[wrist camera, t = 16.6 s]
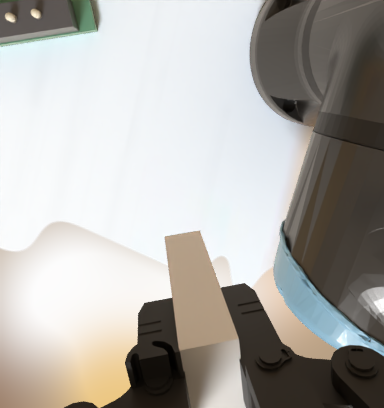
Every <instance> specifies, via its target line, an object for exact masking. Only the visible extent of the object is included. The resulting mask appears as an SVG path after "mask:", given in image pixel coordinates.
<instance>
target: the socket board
mask: <svg viewBox="0 0 384 408" xmlns="http://www.w3.org/2000/svg"><path fill="white" fill-rule="evenodd" d="M91 32H97V27H96V23H95V18H94V14H93V10H92V5H91V1H90V0H0V47H2V46H8V45H15V44H21V43H27V42H34V41H40V40H46V39H53V38H59V37H65V36H72V35H78V34H84V33H91Z"/></svg>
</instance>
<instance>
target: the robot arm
mask: <svg viewBox="0 0 384 408" xmlns="http://www.w3.org/2000/svg"><path fill="white" fill-rule="evenodd" d="M250 66H251V72H252V76H253V80H254V83H255V85H256V88H257V90H258V92H259V94H260V95H261V97H262V98H263V100H264V101H265V103H266V104H267V105H268V106H269V107H270V108H271V109H272V110H273V111H274V112H276V113H277V114H278V115H280V116H281V117H283V118H285V119H287V120H290V121H292V122H296V123H299V124H303V125H307V126H315V127H314V130H313V131H312V135H311V138H310V142H309V145H308V149H307V152H306V155H305V159H304V162H303V165H302V168H301V172H300V175H299V178H298V181H297V184H296V188H295V191H294V194H293V197H292V201H291V204H290V207H289V210H288V213H287V217H286V220H285V221H283V222H282V224H281V227H280V233H279V234H280V242H279V246H278V250H277V253H276V257H275V261H274V268H273V270H274V280H275V283H276V286H277V288H278V290H279V292H280V294H281V295H282V296H283V298H284V301H285V303H286V305H287V306H288V308H289V309H290V310H291V311H292V312H293V313H294V315H295V316H296V317H297V318H298V319H299V320H300V321H301V322H302V323H303V324H304V325H305V326H306V327H307V328H308V329H310V330H311V331H312V332H313V333H314V334H316V335H317V336H318V337H320V338H321V339H322V340H324V341H325V342H327V343H328V344H330V345H331V346H333V347H334V348H336V349H337V350H336V351H335V352H334V354H333V356H332V358H331V360H325V359H312V358H305V357H302V356H299V355H296V354H295V353H294V352H293V351H292V350H291V348H290V347H288V346H286V345H284V344H283V343H282V342H281V340H280V339H279V337H278V335H277V333H276V331H275V329H274V327H273V325H272V323H271V321H270V319H269V317H268V315H267V314H266V312H265V311H264V308H263V306H262V304H261V302H260V300H259V298H258V297H257V294H256V292H255V291H254V290H253V289H252V288H250V287H249V286H248V285H246V284H245V283H243V284H238V285H233V286H227V287H222V288H220V285H219V283H218V280H217V277H216V274H215V272H214V269H213V266H212V263H211V261H210V258H209V255H208V252H207V250H206V247H205V244H204V241H203V239H202V236H201V233H200V231H194V232H188V233H183V234H177V235H171V236H165V243H166V251H167V259H168V267H169V275H170V283H171V290H172V298H169V299H163V300H158V301H153V302H148V303H144V305H143V307H142V308H141V310H140V312H139V313H138V344H137V345H136V346H134V347H133V348H132V349H131V351H130V352H129V353H128V355H127V358H126V361H125V365H126V368H127V373H128V377H129V380H130V384H131V387H130V389H129V390H128V391H127V392H126V393H125V394H124V395H122V396H121V397H120V398H118V399H117V400H115V401H113V402H111V403H109V404H107V405H105V406H104V407H101V408H384V0H267V1H266V2H265V4H264V6H263V7H262V9H261V11H260V13H259V15H258V17H257V20H256V22H255V25H254V29H253V32H252V37H251V43H250ZM64 408H97V407H96V406H95V405H94V404H93V403H89V402H78V403H73V404H71V405H68V406H66V407H64Z"/></svg>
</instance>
